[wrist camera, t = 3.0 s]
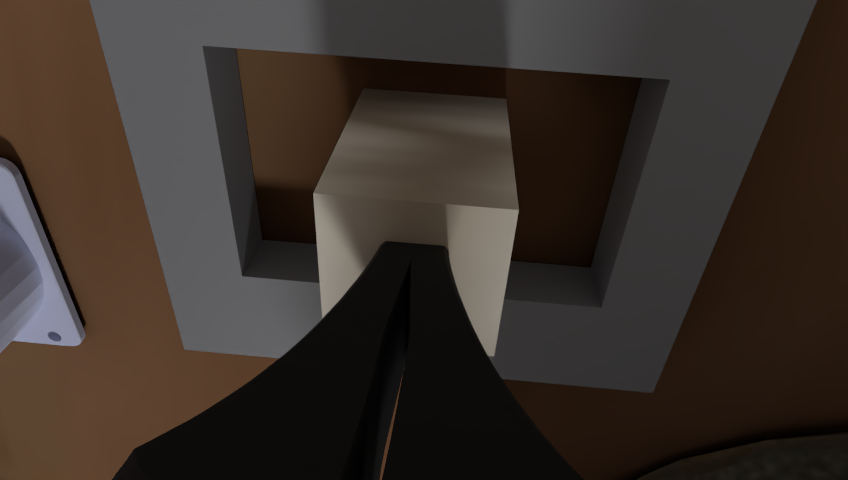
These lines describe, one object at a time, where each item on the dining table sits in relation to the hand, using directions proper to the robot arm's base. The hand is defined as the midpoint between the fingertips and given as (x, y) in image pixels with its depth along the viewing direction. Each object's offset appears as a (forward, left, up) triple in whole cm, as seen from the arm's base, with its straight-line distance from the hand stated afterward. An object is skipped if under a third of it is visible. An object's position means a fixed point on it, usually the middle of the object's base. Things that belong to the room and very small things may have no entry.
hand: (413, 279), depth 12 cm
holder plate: (0, 0, -6) cm, 6 cm away
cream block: (0, 0, -6) cm, 6 cm away
